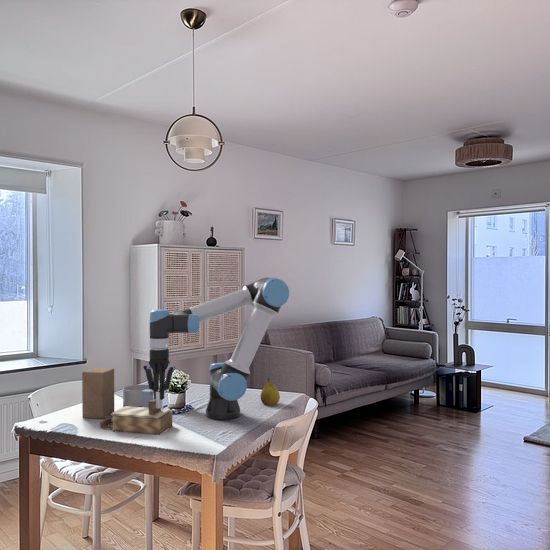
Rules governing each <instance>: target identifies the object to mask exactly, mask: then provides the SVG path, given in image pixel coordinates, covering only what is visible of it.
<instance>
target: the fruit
mask: <svg viewBox="0 0 550 550" xmlns="http://www.w3.org/2000/svg"><path fill="white" fill-rule="evenodd" d="M267 380H268V382H266V383H265V384H264V386H263V388H262V391H261V392H260V402H261V403H262V404H263V405H265V406H270V407H272V406H276V405H277V404H278V403H279V401H280V398H281V395H280V392H279V390H278V388H277V387H276V386H275V384H274V383H273V382H270V378H267Z"/></svg>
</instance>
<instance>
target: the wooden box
mask: <svg viewBox="0 0 550 550" xmlns="http://www.w3.org/2000/svg"><path fill="white" fill-rule="evenodd" d="M112 421H113V424H112V426H113V429H112V432H115V433H127V434H139V435H140V434H141V435H154V436H155V435H156V436H161V435H162V434H163V433H165V432H166V431H167V430H169V429H170V428H172V427H173V411H172V410H170V411H169V412H168V413H166V414H165V415H163V416H161V417H160V418H158V419H154V418H140V417H126V416H112Z"/></svg>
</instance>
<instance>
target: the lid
mask: <svg viewBox="0 0 550 550" xmlns="http://www.w3.org/2000/svg"><path fill="white" fill-rule="evenodd" d="M169 411H171V408H162V407H161V408H156V399H154V398H153V399H152V400H150V401H149V408H146V407H131V406H125V407H123V406H122V407H120V409H117V410H116V411H115V410H114V412H113V413H111V415H110V416H111V417H113V416H126V417H140V418H154V419H158V418H160V417H161V416H163V415H165V414H166V413H168V412H169Z"/></svg>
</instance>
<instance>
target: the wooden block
mask: <svg viewBox="0 0 550 550" xmlns="http://www.w3.org/2000/svg"><path fill="white" fill-rule="evenodd" d="M81 374H82V375H81V376H82V381H81V384H82V391H81V392H82V393H81V394H82V402H81V403H82V412H81V413H82V418H84V419H97V420H98V419H99V420H105V419H107V418H108V417H110V416H112V415H111V413H113V412H115V369H114V368H111V367H93V368H89V369H87V370H85V371H82V373H81Z"/></svg>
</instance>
